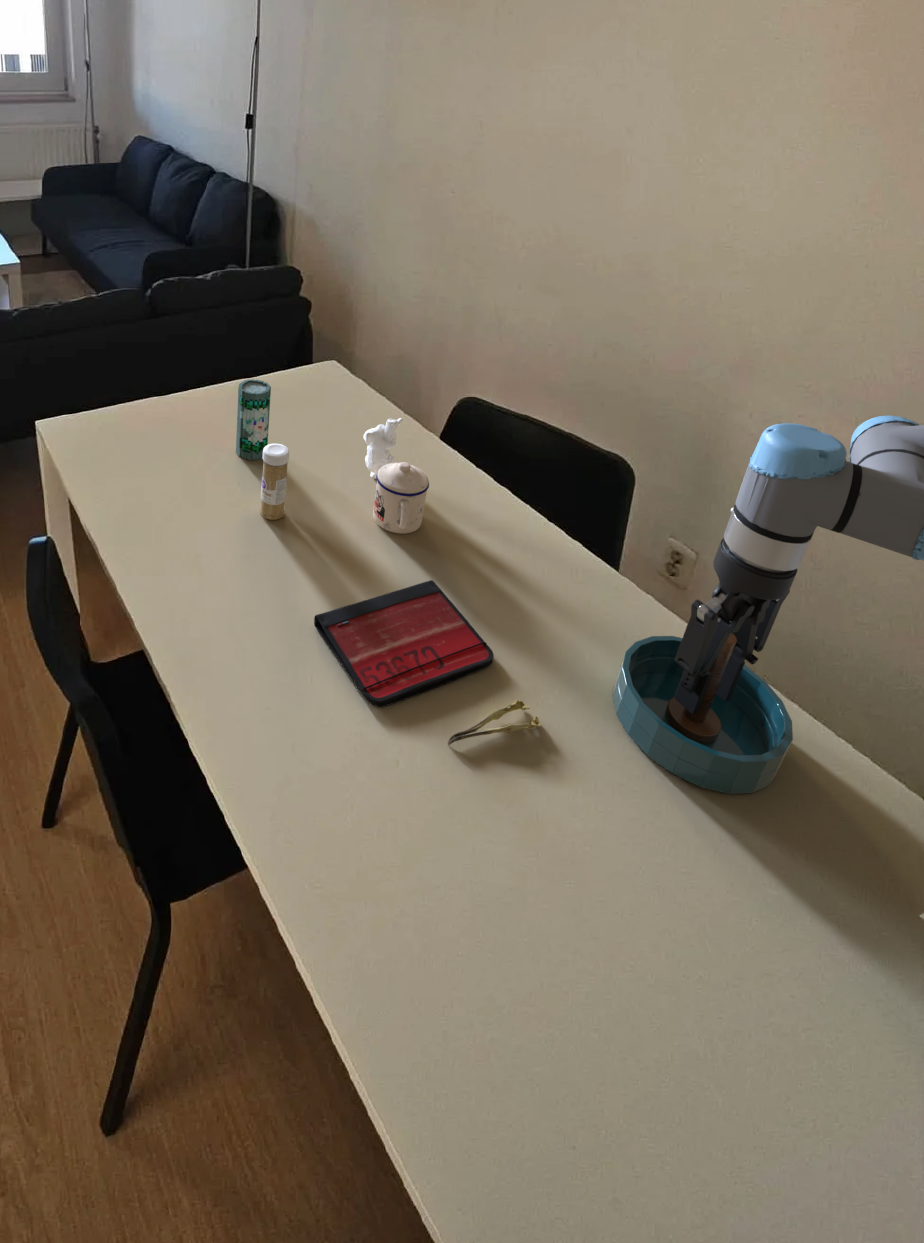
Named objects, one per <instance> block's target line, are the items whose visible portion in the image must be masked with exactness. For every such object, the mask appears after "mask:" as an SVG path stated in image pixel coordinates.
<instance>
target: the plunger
mask: <svg viewBox="0 0 924 1243" xmlns="http://www.w3.org/2000/svg"><path fill="white" fill-rule="evenodd" d="M736 642H737V638H736V636H735V635H734V634H733V633H731V634H730V636H729V638H728V639H727V641H726V643H725V644H724V646H723V648H722V650H721V651H720V653H719V655H718V656H717V658H716V660H715V661H714V663H713V665H712V667H711V668H710V670H709V672H710V673H711V674H712V677H711V679H710V682H709V684H708V687H707V689H706V692H705V694H704V697H703V699H702V702H701V705H700V707H699V710H698V712H697V713H696V714H694V715H692V714H691V713H690V712H689V711H688V710H687V709H686V708H685V707H684V706H683V705H681V704H680V703H679V702H678V701H677V700H676V699H675V698H674V697H673V698H671V699H670V700H669V702H668V705H667V708H666V711H665V715H666V718H667V721H668V723H669V724H670V725H671V727H672V728H673V729H675V730H676V731H678V732H679V733H681V734H682V735H683V736H685V737H686V738H689V739H691V740H693V741H695V742H697V743H700V744H710V743H712V742H714V741H715V740H716V739H717V737H718V735H719V733H720V730H721V722H720V720H719V718H718V716H717V715H716V713H715V712H714V711H713V710H712V709H711V708H710V707H711V704H712V702H713V699H714V697H715V694H716V692H717V689H718V687H719V684H720V682H721V679H722V677H723V674H724V672H725V669H726V667H727V664H728V662H729V659H730V657H731V654H732V652H733V649H734V647H735V644H736Z"/></svg>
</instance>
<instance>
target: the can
mask: <svg viewBox="0 0 924 1243" xmlns="http://www.w3.org/2000/svg"><path fill="white" fill-rule="evenodd" d="M271 393H272V386H271V385H270V384H269V383H268V382H267V381H264V380H261V379H254V378H253V379H246V380H243V381H241V382H240V383H239V384H238V389H237V411H236V413H237V414H236V438H235V439H236V440H235V441H236V442H235V453H236V454H237V455H238V457H239V458H241V459H244V460H247V461H258V460H263V449H264V447H265V446H267V445H269V430H270V429H269V428H270V410H271V409H270V408H271V395H272V394H271Z"/></svg>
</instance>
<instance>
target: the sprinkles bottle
mask: <svg viewBox="0 0 924 1243" xmlns="http://www.w3.org/2000/svg"><path fill="white" fill-rule="evenodd" d="M289 460H290V449H289V448H288V447H287V446H286V445H284V444H281V443H270V444H269V443H268V445H267V446H265V447H264V449H263V457H262V461H263V462H262V464H263V465H262V477H261V488H260V507H259V514H260V516H261V517H263V518H264V519H266V520H269V521H270V520H271V521H277V520H279V519H281V518H283V517H284V515H285V502H286V494H287V481H288V480H287V479H288V463H289Z"/></svg>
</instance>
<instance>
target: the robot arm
mask: <svg viewBox="0 0 924 1243" xmlns="http://www.w3.org/2000/svg"><path fill="white" fill-rule="evenodd" d="M847 454H848V452H847V448H846V446H845V445H844V444H843V443H842V442H841V441H840V440H839V439H838V438H836V437H835V436H833V435H831V434H830V433H826V432H822V431H820V430H818V429H817V428H815V427H812V426H809V425H805V424H798V423H792V422H789V423H788V422H784V423H776V424H772V425H770V426H768V427H767V428H765V429H764V430H763V431H762V433H761V435H760V437H759V439H758V442H757V444H756V446H755V448H754V451H753V453H752V454H751V455H750V458H749V462H748V464H747V467H746V470H745V473H744V476H743V479H742V482H741V485H740V487H739V490H738V493H737V497H736V500H735V502H734V505H733V507H732V508H730V511H729V512H730V517H729V519H728V522H727V525H726V527H725V530H724V533H723V538H722V539H721V540H720V543H719V545H718V547H717V551H716V552H715V555H714V559H713V562H712V565H713V569H714V572H715V573H716V576H717V579H718V582H719V583H718V585H716V586H715V587H714V590H713V592H712V594H711V599H709V600H707V602H705V603H704V602H702V601H701V600H700V599H695V600H694V601H693V602H692V603H691V605H690V606H691V607H690V617H689V619H688V622H687V625H686V627H685V631H684V632H683V636H682V637H681V638H682V641H681V643H680V646H679V649H678V652H677V654H676V657H675V662H676V663H678V664H679V665H680V666H681V667H682V668H683V669H684V672H683V675H682V677H681V680H680V683H679V685H678V688H677V691H676V693H675V696H674V698H675V699H676V700H677V701H678V702H679V703H680V704H681V705H683V706H684V707H685V708H686V709H687V710H688V711H689V712H690V713H691V714H692V715H694V714H696V713H697V712H698V710H699V707H700V705H701V702H702V699H703V697H704V694H705V692H706V689H707V687H708V684H709V682H710V679H711V677H712V674H711V673H710V672H709V670H710V668H711V667H712V665H713V663H714V661H715V660H716V658H717V656H718V655H719V653H720V651H721V650H722V648H723V646H724V644H725V643H726V641H727V639H728V638H729V636H730V634H731V633H733V634H734V635H735V636H736V638H737V642H736V644H735V647H734V649H733V652H732V654H731V657H730V659H729V662H728V664H727V667H726V669H725V672H724V674H723V677H722V679H721V682H720V684H719V687H718V689H717V692H716V694H717V695H718V696H719V697H720V698H721V699H722V700H724V701H725V702H726V701H729V700H730V698H731V695H732V693H733V691H734V688H735V686H736V683H737V681H738V678H739V676H740V674H741V671H742V669H743V666H744V665H746V662H748V663H749V664H750V665H755V664H756V663H757V662H758V661H759V658H758V657H757V656H756V655H755V654H753V653H754V651H755V652H757V653H759V652H762V651H763V650H764V648H765V645H766V643H767V641H768V639H769V636H770V633H771V631H772V629H773V626H774V623H775V621H776V619H777V616H778V614H779V611H780V609H781V607H782V605H783V603H784V601H785V600H786V598H787V597H788V596H789V594H790V593H791V588H792V585H793V583H794V582H795V581H794V580H795V579H796V575H797V573H798V569H799V568H800V567H801V566H802V564H803V561H804V558H805V556H806V553H807V550H808V549H809V546H810V543H811V541H812V538H813V536H814V533H815V531H816V529H817V528H818V527H820V528H822V529H825V530H828V531H831V532H834V533H837V534H841V535H844V536H848V537H850V538H853V539H856V540H859V541H862V542H865V543H868V544H870V545H874V546H877V547H880V548H883V549H886V550H888V551H891V552H895V553H898V554H901V555H903V556H906V557H910V558H912V559H913V560H916V561H924V424H919V423H917V422H916V421H914V420H912V419H910V418H906V417H903V416H898V415H897V416H896V415H880V416H879V415H878V416H875V417H872V418H869V419H867V420H865V421H863V422H862V423H860V424H859V425H858V426H857V427H856V428H855V429H854V431H853V433H852V435H851V438H850V447H849V454H848V460H849V461H848V460H847ZM745 661H746V662H745Z"/></svg>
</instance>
